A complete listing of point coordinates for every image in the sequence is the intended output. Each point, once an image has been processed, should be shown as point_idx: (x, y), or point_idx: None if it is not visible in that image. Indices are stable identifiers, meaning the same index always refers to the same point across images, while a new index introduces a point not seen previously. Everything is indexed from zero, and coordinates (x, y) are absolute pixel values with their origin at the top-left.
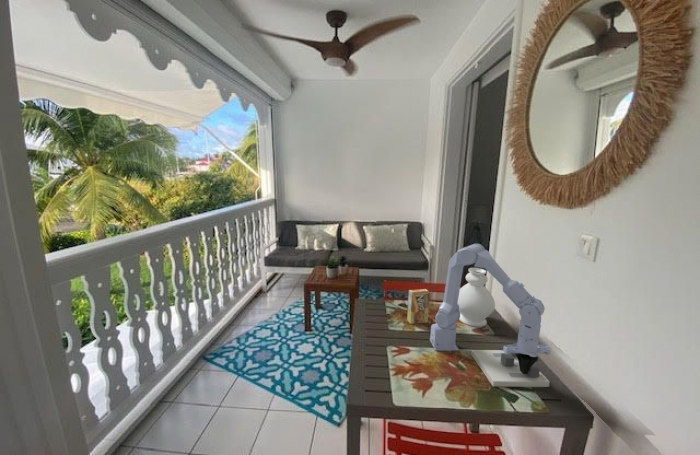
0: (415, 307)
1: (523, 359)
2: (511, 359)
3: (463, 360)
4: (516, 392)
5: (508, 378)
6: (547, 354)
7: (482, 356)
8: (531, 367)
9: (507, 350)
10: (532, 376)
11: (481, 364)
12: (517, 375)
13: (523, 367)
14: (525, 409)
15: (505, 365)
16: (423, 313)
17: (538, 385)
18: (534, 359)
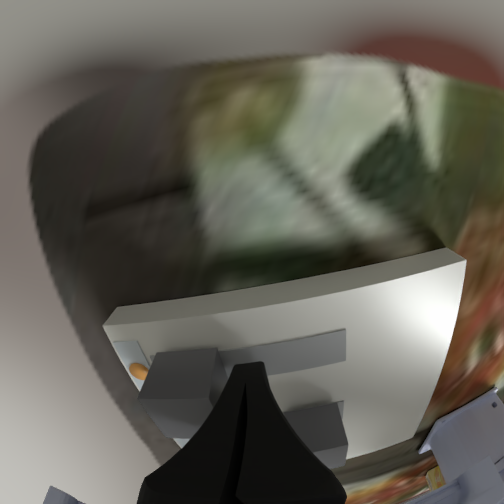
0: None
1: (334, 485)
2: (308, 447)
3: (455, 381)
4: (342, 218)
5: (373, 310)
6: (62, 493)
7: (398, 423)
8: (196, 413)
9: (497, 490)
10: (197, 354)
11: (437, 376)
12: (295, 352)
13: (277, 405)
14: (343, 71)
15: (335, 406)
16: None
17: (170, 304)
18: (180, 499)
